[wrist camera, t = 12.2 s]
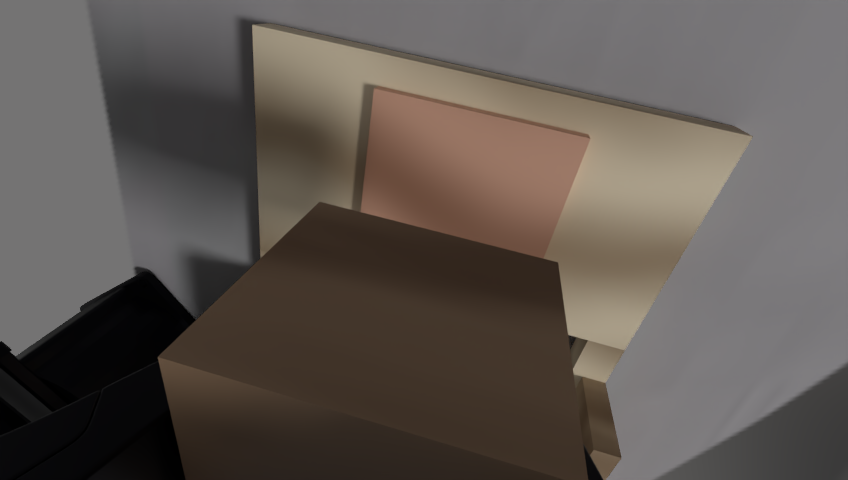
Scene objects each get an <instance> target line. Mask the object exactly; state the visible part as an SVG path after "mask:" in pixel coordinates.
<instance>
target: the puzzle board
mask: <svg viewBox="0 0 848 480" xmlns="http://www.w3.org/2000/svg"><path fill="white" fill-rule="evenodd" d="M252 34H253V62H254V90H255V118H256V146H257V175H258V203H259V231H260V258H261V257H262V256H263V255H264V254H266V253H267V252H268V251H269V250H270V249H271V248H272V247H273V246H274V245H275V244H276V243H277V242H278V241H279V240H280V239H281V238H282V237H283V236H284V235H285V234H286V233H287V232H288V231H289V230H291V229H292V228H293V227H294V226H295V225H296V224H297V223H298V222H299V221H300V220H301V219H302V218H303V217H304V216H305V215H306V214H307V213H308V212H309V211H310V210H311V209H312V208H313V207H314V206H316V205H317V204H318V203H319V202H323V203H327V204H331V205H335V206H339V207H343V208H347V209H351V210H354V211H358V212H362V213H366V214H370V215H374V216H378V217H382V218H386V219H390V220H394V221H398V222H402V223H406V224H409V225H413V226H417V227H421V228H425V229H429V230H433V231H437V232H441V233H445V234H449V235H453V236H457V237H461V238H464V239H468V240H472V241H476V242H480V243H484V244H488V245H492V246H496V247H500V248H504V249H508V250H512V251H516V252H519V253H523V254H527V255H531V256H535V257H539V258H543V259H547V260H551V261H555V262H558V265H559V272H560V280H561V287H562V294H563V301H564V309H565V316H566V323H567V330H568V335H571V336H574V337H576V339H575V341H574V343H573V345H572V347H571V349H570V352H571V359H572V366H573V374H574V381H575V388H576V395H577V402H578V410H579V417H580V424H581V431H582V439H583V444H584V446H585V447H586V449H587V451H588V453H589V455H590V456H591V458H592V460H593V462H594V464H595V465H596V467H597V469H598V471H599V472H600V474H601V476H602V478H603V480H606V478H607V477H608V476H609V474H610V473H611V472H612V470H613V469H614V468H615V466H616V465H617V463H618V462H619V461H620V459H621V454H620V449H619V444H618V440H617V435H616V431H615V426H614V421H613V417H612V412H611V407H610V403H609V398H608V393H607V389H606V384H605V383H606V381H607V379H608V378H609V376H610V374H611V373H612V371H613V369H614V368H615V366H616V364H617V363H618V361H619V359H620V358H621V356H622V354H623V353H624V351H625V349H626V348H627V346H628V344H629V343H630V341H631V339H632V338H633V336H634V334H635V333H636V331H637V329H638V328H639V326H640V324H641V323H642V321H643V319H644V318H645V316H646V314H647V313H648V311H649V309H650V308H651V306H652V304H653V303H654V301H655V299H656V298H657V296H658V294H659V293H660V291H661V289H662V288H663V286H664V284H665V283H666V281H667V279H668V278H669V276H670V274H671V273H672V271H673V269H674V268H675V266H676V264H677V263H678V261H679V259H680V258H681V256H682V254H683V253H684V251H685V249H686V248H687V246H688V244H689V243H690V241H691V239H692V238H693V236H694V234H695V233H696V231H697V229H698V228H699V226H700V224H701V223H702V221H703V219H704V218H705V216H706V214H707V213H708V211H709V209H710V208H711V206H712V204H713V203H714V201H715V199H716V197H717V196H718V194H719V192H720V191H721V189H722V187H723V186H724V184H725V182H726V181H727V179H728V177H729V176H730V174H731V172H732V171H733V169H734V167H735V166H736V164H737V162H738V161H739V159H740V157H741V156H742V154H743V152H744V151H745V149H746V147H747V146H748V144H749V142H750V141H751V139H752V137H753V136H751V135H749V134H747V133H746V132H744V131H742V130H741V129H739V128H737V127H735V126H731V125H726V124H722V123H717V122H713V121H708V120H704V119H699V118H695V117H690V116H686V115H681V114H677V113H672V112H668V111H663V110H659V109H654V108H650V107H645V106H641V105H636V104H632V103H627V102H623V101H618V100H614V99H609V98H605V97H600V96H596V95H591V94H587V93H582V92H578V91H573V90H569V89H564V88H560V87H555V86H551V85H546V84H542V83H537V82H533V81H528V80H524V79H519V78H515V77H510V76H506V75H501V74H497V73H492V72H488V71H483V70H479V69H474V68H470V67H465V66H461V65H456V64H452V63H447V62H443V61H438V60H434V59H429V58H425V57H420V56H416V55H411V54H407V53H402V52H398V51H393V50H389V49H384V48H380V47H375V46H371V45H366V44H362V43H357V42H353V41H348V40H344V39H339V38H335V37H330V36H326V35H321V34H317V33H312V32H308V31H303V30H299V29H294V28H290V27H285V26H281V25H276V24H272V23H268V24H254V25H252Z"/></svg>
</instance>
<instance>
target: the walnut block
mask: <svg viewBox="0 0 848 480" xmlns="http://www.w3.org/2000/svg"><path fill="white" fill-rule="evenodd" d="M158 361H159V365H160V370H161V374H162V378H163V383H164V387H165V391H166V396H167V400H168V405H169V409H170V413H171V418H172V422H173V427H174V431H175V435H176V440H177V444H178V449H179V453H180V457H181V462H182V466H183V471H184V475H185V479H186V480H588V475H587V467H586V460H585V453H584V446H583V439H582V431H581V424H580V417H579V410H578V402H577V395H576V388H575V381H574V374H573V366H572V359H571V352H570V345H569V337H568V330H567V323H566V316H565V309H564V301H563V294H562V287H561V280H560V272H559V265H558V262H555V261H551V260H547V259H543V258H539V257H535V256H531V255H527V254H523V253H519V252H516V251H512V250H508V249H504V248H500V247H496V246H492V245H488V244H484V243H480V242H476V241H472V240H468V239H464V238H461V237H457V236H453V235H449V234H445V233H441V232H437V231H433V230H429V229H425V228H421V227H417V226H413V225H409V224H406V223H402V222H398V221H394V220H390V219H386V218H382V217H378V216H374V215H370V214H366V213H362V212H358V211H354V210H351V209H347V208H343V207H339V206H335V205H331V204H327V203H323V202H319V203H318V204H317V205H316V206H314V207H313V208H312V209H311V210H310V211H309V212H308V213H307V214H306V215H305V216H304V217H303V218H302V219H301V220H300V221H299V222H298V223H297V224H296V225H295V226H294V227H293V228H292V229H291V230H289V231H288V232H287V233H286V234H285V235H284V236H283V237H282V238H281V239H280V240H279V241H278V242H277V243H276V244H275V245H274V246H273V247H272V248H271V249H270V250H269V251H268V252H267V253H266V254H264V255H263V256H262V257H261V258H260V259H259V260H258V261H257V262H256V263H255V264H254V265H253V266H252V267H251V268H250V269H249V270H248V271H247V272H246V273H245V274H244V275H243V276H242V277H241V278H239V279H238V280H237V281H236V282H235V283H234V284H233V285H232V286H231V287H230V288H229V289H228V290H227V291H226V292H225V293H224V294H223V295H222V296H221V297H220V298H219V299H218V300H217V301H216V302H214V303H213V304H212V305H211V306H210V307H209V308H208V309H207V310H206V311H205V312H204V313H203V314H202V315H201V316H200V317H199V318H198V319H197V320H196V321H195V322H194V323H193V324H192V325H190V326H189V327H188V328H187V329H186V330H185V331H184V332H183V333H182V334H181V335H180V336H179V337H178V338H177V339H176V340H175V341H174V342H173V343H172V344H171V345H170V346H169V347H168V348H167V349H165V350H164V351H163V352H162V353H161V354H160V355H159V356H158Z"/></svg>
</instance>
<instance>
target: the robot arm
mask: <svg viewBox="0 0 848 480" xmlns="http://www.w3.org/2000/svg"><path fill="white" fill-rule="evenodd" d="M80 310H81V312H79V313H78V314H76V315H75V316H73V317H72V318H71V319H69V320H68V321H66V322H65V323H63V324H62V325H60V326H59V327H57V328H56V329H55V330H53V331H52V332H50V333H49V334H47V335H46V336H44V337H43V338H42V339H40V340H39V341H37V342H36V343H35V344H33V345H31V346H30V347H28V348H27V349H26V350H24V351H23V352H21V353H20V354H18V355H17V356H14V355H13V354H12V353H11V352H10V351H11V349H10V348H9V347H8V346H7V345H5V344H4V343H3V342H2V341H1V342H0V480H186V479H185V475H184V471H183V466H182V462H181V457H180V453H179V449H178V444H177V440H176V435H175V431H174V427H173V422H172V418H171V413H170V409H169V405H168V400H167V396H166V391H165V387H164V383H163V378H162V374H161V370H160V365H159V361H158V356H159V355H160V354H161V353H162V352H163V351H164V350H165V349H167V348H168V347H169V346H170V345H171V344H172V343H173V342H174V341H175V340H176V339H177V338H178V337H179V336H180V335H181V334H182V333H183V332H184V331H185V330H186V329H187V328H188V327H189V326H190V325H192V324H193V323H194V322H195V321H194V320H193V319H192V318H191V317H190V316H189V314H188V313H187V312H186V311H185V310H184V309H183V308H182V307H181V306H180V305H179V303H178V302H177V301H176V300H175V299H174V298H173V297H172V296H171V295H170V294H169V292H168V291H167V290H166V289H165V288H164V287H163V286H162V285H161V284H160V283H159V281H158V280H157V279H156V278H155V277H154V276H153V275H152V274H150V273H148V272H142V273H140V274H138V275H136V276H135V277H133V278H131V279H129V280H127V281H125V282H124V283H122V284H120V285H118V286H116V287H114V288H112V289H111V290H109V291H107V292H105V293H103V294H101V295H100V296H98V297H96V298H94V299H92V300H90V301H89V302H87V303H85V304H84V305H82V306H81V307H80ZM583 446H584V444H583ZM584 453H585V460H586V467H587V475H588V480H603V478H602V476H601V474H600V472H599V471H598V469H597V467H596V465H595V464H594V462H593V460H592V458H591V456H590V455H589V453H588V451H587V449H586V447H585V446H584Z"/></svg>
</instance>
